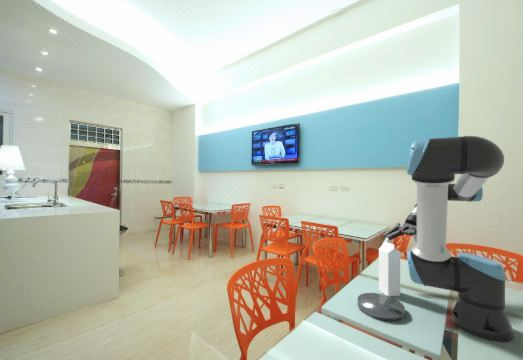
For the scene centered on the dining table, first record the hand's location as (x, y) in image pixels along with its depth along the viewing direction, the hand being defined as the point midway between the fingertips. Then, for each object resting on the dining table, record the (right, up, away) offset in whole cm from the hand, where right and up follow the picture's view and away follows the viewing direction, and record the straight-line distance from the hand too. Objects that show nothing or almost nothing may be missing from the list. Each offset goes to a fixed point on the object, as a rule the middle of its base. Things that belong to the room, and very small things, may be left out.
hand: (394, 254), depth 106 cm
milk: (-4, -16, -3) cm, 17 cm away
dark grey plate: (-15, -16, -16) cm, 27 cm away
